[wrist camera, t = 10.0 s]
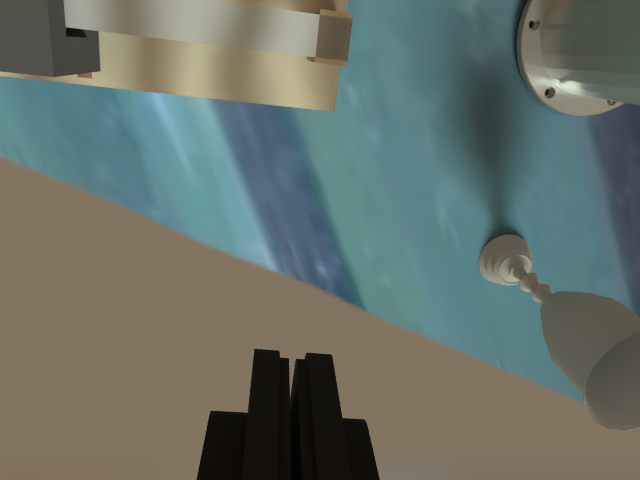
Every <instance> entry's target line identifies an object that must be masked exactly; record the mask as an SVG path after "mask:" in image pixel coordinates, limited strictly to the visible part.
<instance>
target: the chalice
mask: <svg viewBox="0 0 640 480" xmlns="http://www.w3.org/2000/svg"><path fill="white" fill-rule="evenodd" d="M532 266H533V260H532V258H531V254H530V249H529V246H528V244H527V243H526V241H525V240H524V239H523V238H521V237H519V236H517V235H510V234H507V235H502V236H499V237H497V238H495V239H493V240H491V241H490V242H489V243H488V244H487V245H486V246H485V247H484V249H483V250H482V252H481V254H480V257H479V270H480V272H481V274H482V276H483V277H484V278H485V279H486V280H488V281H491V282H493V283H498V284H504V285H515V284H518V283H520V287H521V289H522V290H523V291H525V292H532V298H533V299H534V300H535V301H536V302H542V303H543V304H542V306H541V321H542V329H543V335H544V338H545V341H546V344H547V347H548V350H549V353H550V356H551V359H552V361H553V362H554V363H555V364H556V366H557V367H558V368H559V369H560V370H561V371H562V372H563V373H564V375H565V376H566V377H567V378H568V379H569V380H570V381H571V382H572V384H573V385H574V386H575V387H576V388H577V389H578V390H579V391H580V392H581V394H582V395H583V398H584V402H585V406H586V409H587V412H588V414H589V415H590V416H591V417H592V419H593V420H594V421H595V422H596V423H598V424H600V425H602V426H604V427H607V428H609V429H620V430H627V429H631V428H636V427H640V317H639V316H637V315H636V314H635V313H633V312H632V311H631V310H629V309H628V308H627V307H625V306H624V305H622V304H621V303H619V302H617V301H615V300H614V299H612V298H607V297H603V296H599V295H595V294H591V293H582V292H567V291H559V292H555V293H553V294H551V289H550V287H549V286H548V285H546V284H539V283H540V278H539V276H538V275H537V274H535V273H530V272H531V269H532Z"/></svg>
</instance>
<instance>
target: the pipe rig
mask: <svg viewBox="0 0 640 480" xmlns="http://www.w3.org/2000/svg"><path fill="white" fill-rule="evenodd" d="M347 7H348V0H64V13H65V27H69V28H77V29H85V30H93V31H99V51H100V71H99V72H91V73H83V74H75V75H67V76H59V77H47V76H38V75H29V74H19V73H10V72H1V71H0V76H7V77H16V78H25V79H35V80H44V81H53V82H63V83H72V84H81V85H91V86H100V87H109V88H119V89H128V90H137V91H146V92H156V93H165V94H174V95H184V96H193V97H202V98H212V99H221V100H230V101H240V102H249V103H258V104H268V105H277V106H286V107H296V108H305V109H314V110H324V111H333V112H335V106H336V98H337V89H338V81H339V73H340V66H347V59H348V51H349V43H350V35H351V27H352V19H353V13H347Z"/></svg>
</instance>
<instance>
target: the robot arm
mask: <svg viewBox="0 0 640 480" xmlns="http://www.w3.org/2000/svg"><path fill="white" fill-rule="evenodd" d="M529 22H531V27H530V28H529ZM516 50H517V62H518V66H519V70H520V74H521V76H522V78H523V80H524V82H525V85H526V87H527V88H528V89H529V91H530V92H531V93H532V95H533V96H534V97H535V98H536V99H537V100H538V101H540V102H541V103H542V104H543V105H545V106H546V107H548V108H550V109H552V110H555V111H557V112H561V113H565V114H568V115H577V116H587V115H596V114H600V113H603V112H607V111H610V110H612V109H614V108H616V107H618V106H620V105H622V104H624V103H628V104H635V105H640V0H528V1H527V3H526V5H525V7H524V9H523V12H522V15H521V19H520V23H519V26H518V32H517V41H516ZM546 90H547V92H546V94H545V91H546ZM289 387H290V386H289V358H280V352H279V351H276V350H263V349H254V358H253V368H252V378H251V387H250V396H249V406H248V413H241V412H224V411H211V412H210V415H209V420H208V425H207V430H206V435H205V441H204V445H203V450H202V455H201V461H200V465H199V471H198V476H197V480H380V479H379V475H378V470H377V466H376V461H375V457H374V452H373V448H372V444H371V439H370V435H369V430H368V426H367V424H366V421H365V420H364V419H346V418H342V413H341V407H340V401H339V395H338V389H337V383H336V376H335V370H334V364H333V358H332V355H331V354H316V353H306V356H305V359H296V362H295V369H294V376H293V383H292V390H291V397H290V388H289Z"/></svg>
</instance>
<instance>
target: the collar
mask: <svg viewBox="0 0 640 480" xmlns="http://www.w3.org/2000/svg"><path fill="white" fill-rule="evenodd" d="M0 71H1V72H10V73H19V74H29V75H38V76H47V77H59V76H67V75H75V74H83V73H91V72H99V71H100V51H99V31H93V30H85V29H77V28H69V27H65V13H64V0H0Z"/></svg>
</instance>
